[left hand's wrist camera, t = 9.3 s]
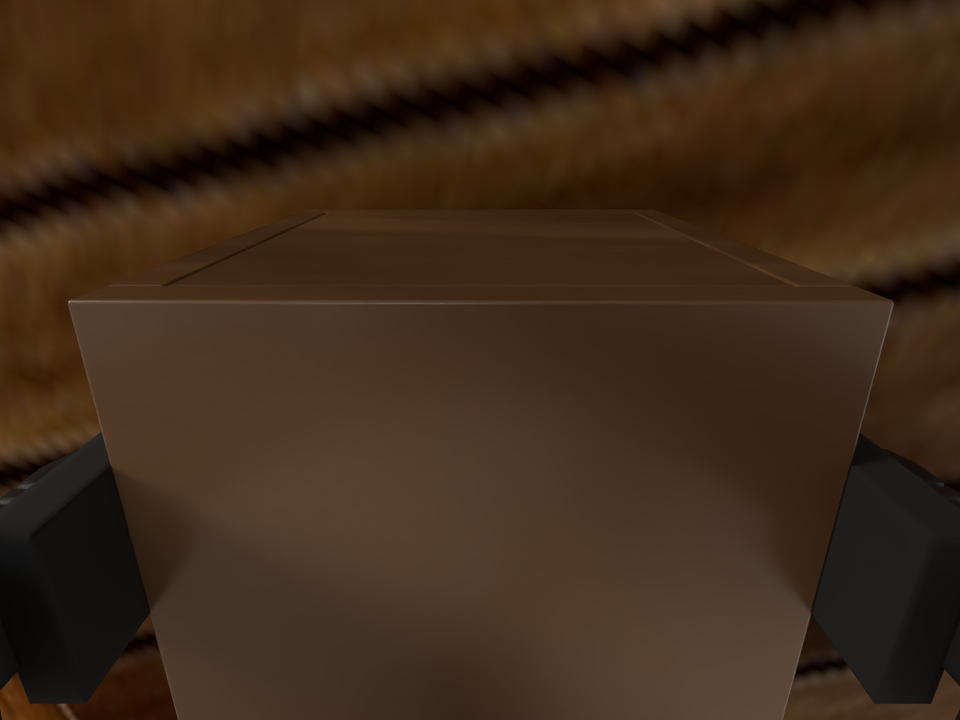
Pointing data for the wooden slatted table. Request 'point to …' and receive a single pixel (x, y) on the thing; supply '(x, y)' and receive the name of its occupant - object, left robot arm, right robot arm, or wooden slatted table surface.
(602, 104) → the wooden slatted table surface
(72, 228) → the wooden slatted table surface
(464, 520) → the cabinet
